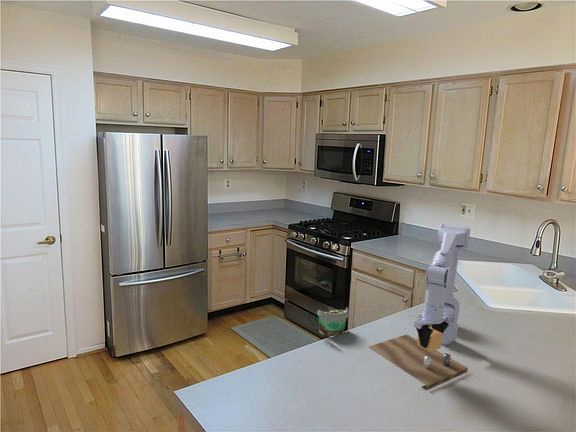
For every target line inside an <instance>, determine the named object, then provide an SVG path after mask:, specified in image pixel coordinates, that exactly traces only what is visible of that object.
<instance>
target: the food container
mask: <svg viewBox="0 0 576 432" xmlns="http://www.w3.org/2000/svg"><path fill="white" fill-rule="evenodd" d="M316 315H317V316H318V331H319V332H318V335H320V337H323V338H324V339H325V338H326V339H329V340H331V337H329V336H333V337H334V336H335V337H336V336H340V335H342V334H343V333H345V328H346V323H347V318H349V316H350V314H349V309H348V307H347V306H346V307H345V308H343V309H328V310H320V309H318V310H317V312H316Z"/></svg>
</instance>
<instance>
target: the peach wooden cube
mask: <svg viewBox="0 0 576 432" xmlns="http://www.w3.org/2000/svg"><path fill="white" fill-rule="evenodd" d="M428 327H429V328H430V329H432V328H431V326H428ZM432 330H434V329H432ZM416 340H417V345H418V346H420V340H419V335H418V334H417V339H416ZM441 340H442V333H441V332H439V331H436V330H434V331H433V332H432V334H431V336H430V338H429V343H428V346H427V348H424V347H422V346H420V347H422V348H424V349H426V350H427V351H429V352H431V351H434V350H436V351H438V350H439V349H441V348H442V344H441Z"/></svg>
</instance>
